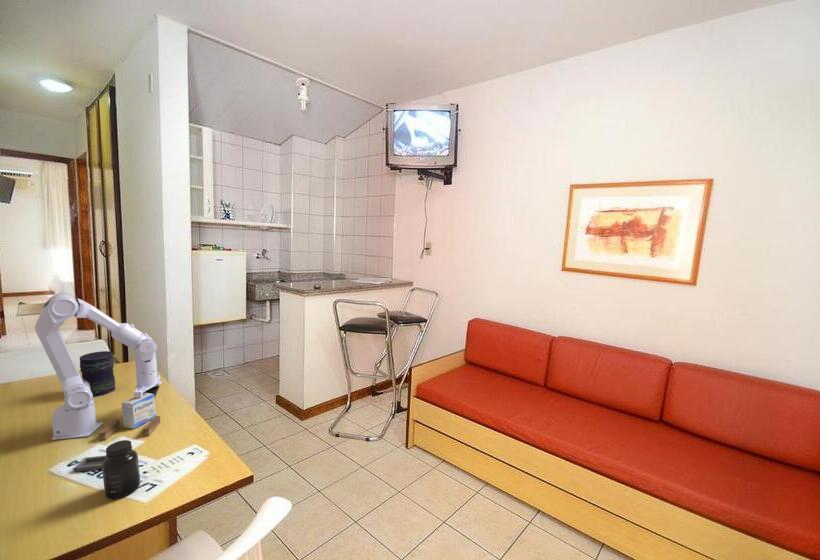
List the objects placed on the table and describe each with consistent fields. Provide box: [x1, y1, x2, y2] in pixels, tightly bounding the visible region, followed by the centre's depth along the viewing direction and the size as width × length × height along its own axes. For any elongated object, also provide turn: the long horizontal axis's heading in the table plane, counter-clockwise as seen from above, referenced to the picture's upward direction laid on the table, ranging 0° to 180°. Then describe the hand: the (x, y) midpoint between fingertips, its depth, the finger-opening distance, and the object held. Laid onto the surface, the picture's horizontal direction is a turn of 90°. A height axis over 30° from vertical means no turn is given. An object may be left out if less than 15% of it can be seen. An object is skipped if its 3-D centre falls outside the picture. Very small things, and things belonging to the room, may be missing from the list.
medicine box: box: [121, 393, 157, 430], centre depth 117 cm, size 8×4×9 cm, turn 168°
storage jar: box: [79, 350, 116, 398], centre depth 137 cm, size 10×10×15 cm
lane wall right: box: [142, 415, 161, 437], centre depth 113 cm, size 2×8×2 cm, turn 14°
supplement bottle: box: [101, 439, 141, 500], centre depth 86 cm, size 7×7×12 cm
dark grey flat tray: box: [74, 455, 107, 473], centre depth 96 cm, size 9×4×1 cm, turn 104°
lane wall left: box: [99, 418, 121, 442], centre depth 111 cm, size 2×8×2 cm, turn 14°
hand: (149, 407), depth 124 cm, fingers closed
